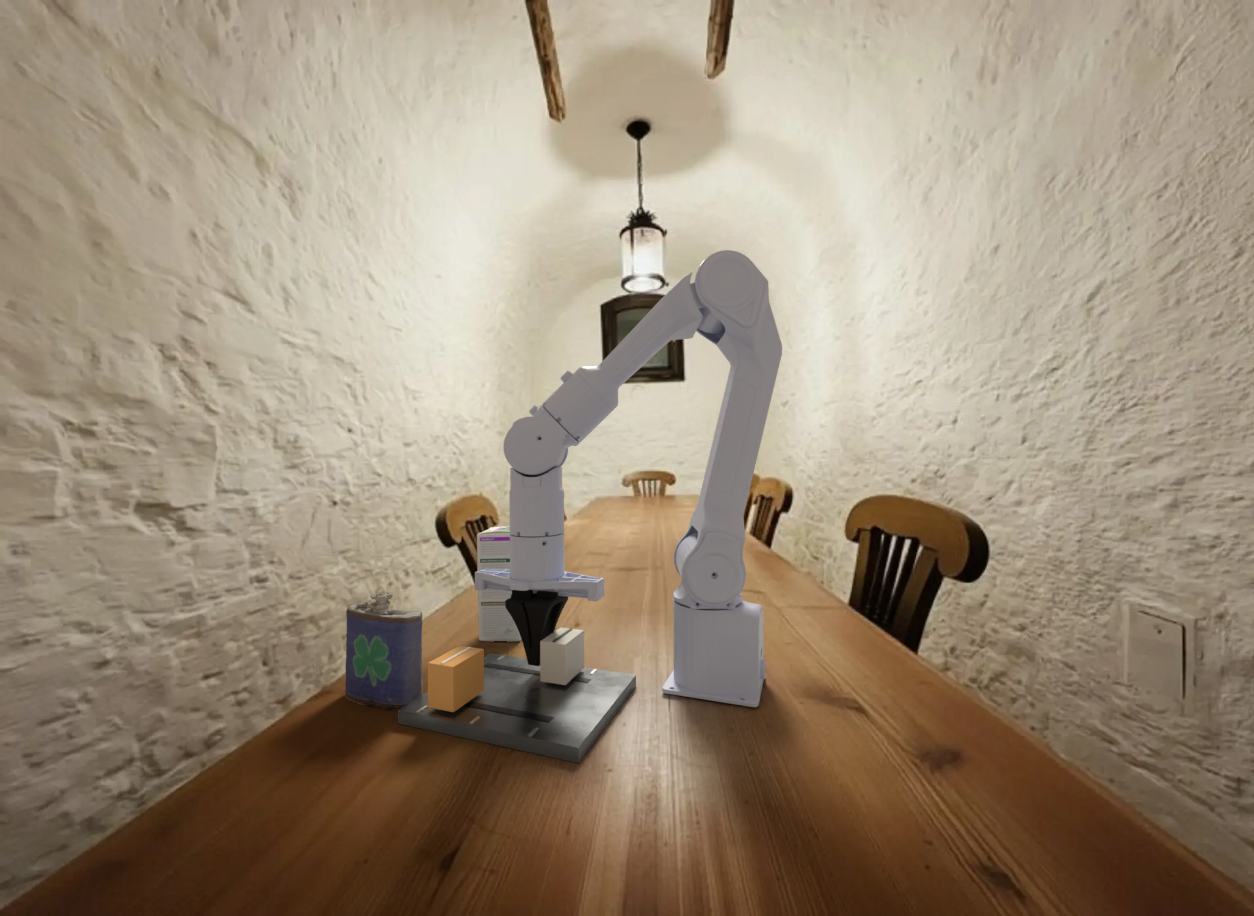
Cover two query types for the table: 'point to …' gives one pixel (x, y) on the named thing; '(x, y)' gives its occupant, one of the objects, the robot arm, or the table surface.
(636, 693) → the table surface
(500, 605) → the syrup box
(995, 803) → the table surface
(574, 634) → the white fader knob
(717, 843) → the table surface
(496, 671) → the grey slotted tray
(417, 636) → the flask
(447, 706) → the orange fader
